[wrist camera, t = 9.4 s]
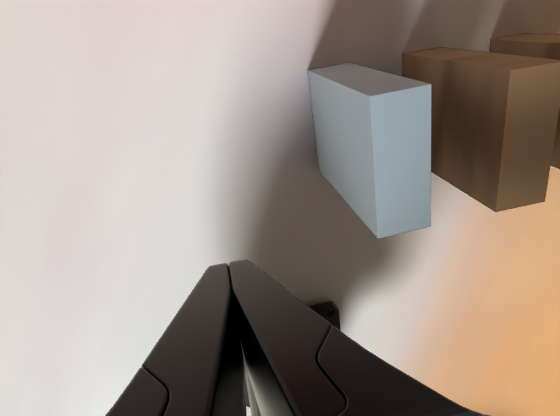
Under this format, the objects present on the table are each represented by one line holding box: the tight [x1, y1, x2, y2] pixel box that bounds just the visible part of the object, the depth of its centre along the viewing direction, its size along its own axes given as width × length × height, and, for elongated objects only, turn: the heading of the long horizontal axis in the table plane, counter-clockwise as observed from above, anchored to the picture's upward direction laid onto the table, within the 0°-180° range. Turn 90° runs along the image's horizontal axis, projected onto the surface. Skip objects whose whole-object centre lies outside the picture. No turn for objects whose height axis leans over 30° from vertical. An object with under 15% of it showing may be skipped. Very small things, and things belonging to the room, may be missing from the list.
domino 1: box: [307, 62, 431, 239], centre depth 17 cm, size 5×2×8 cm, turn 8°
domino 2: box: [402, 47, 560, 212], centre depth 18 cm, size 5×2×8 cm, turn 7°
